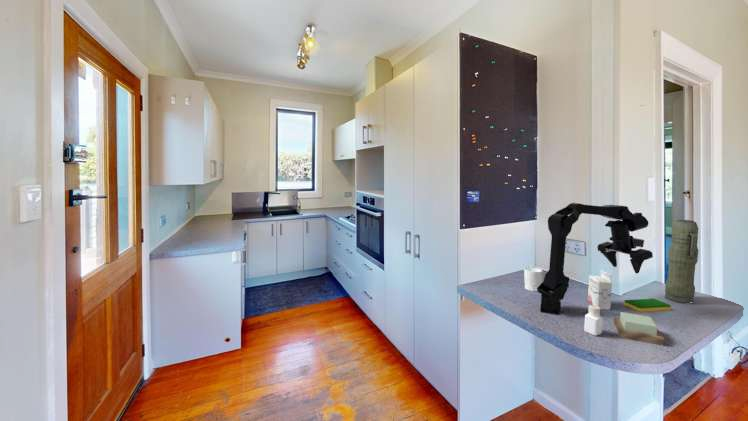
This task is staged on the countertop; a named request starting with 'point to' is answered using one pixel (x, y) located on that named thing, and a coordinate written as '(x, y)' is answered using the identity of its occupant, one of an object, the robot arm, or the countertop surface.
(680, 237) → the thermos
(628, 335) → the tower base block
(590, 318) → the pepper shaker
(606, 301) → the ink cartridge box
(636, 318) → the tower top block
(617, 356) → the countertop surface
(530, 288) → the white cup
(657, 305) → the dish sponge
